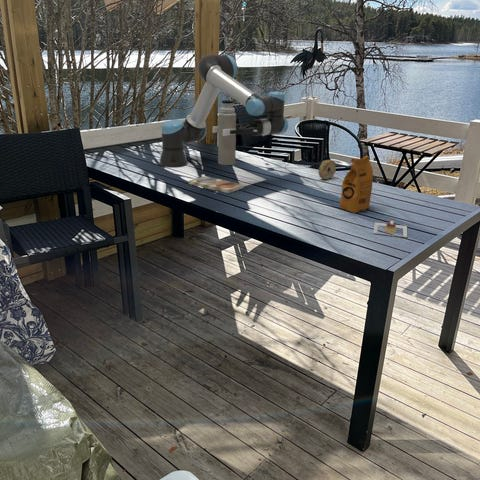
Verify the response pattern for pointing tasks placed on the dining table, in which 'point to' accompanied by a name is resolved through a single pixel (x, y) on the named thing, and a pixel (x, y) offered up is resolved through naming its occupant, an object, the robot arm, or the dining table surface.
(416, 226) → the dining table surface
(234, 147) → the thermos bottle
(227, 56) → the robot arm
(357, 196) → the coffee package
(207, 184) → the board
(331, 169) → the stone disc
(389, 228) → the dessert
